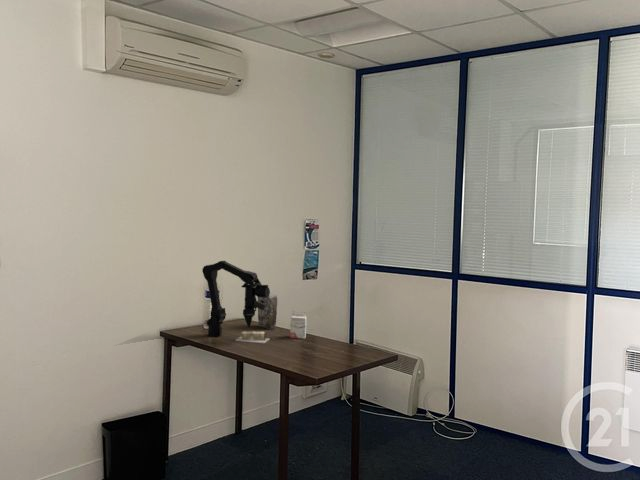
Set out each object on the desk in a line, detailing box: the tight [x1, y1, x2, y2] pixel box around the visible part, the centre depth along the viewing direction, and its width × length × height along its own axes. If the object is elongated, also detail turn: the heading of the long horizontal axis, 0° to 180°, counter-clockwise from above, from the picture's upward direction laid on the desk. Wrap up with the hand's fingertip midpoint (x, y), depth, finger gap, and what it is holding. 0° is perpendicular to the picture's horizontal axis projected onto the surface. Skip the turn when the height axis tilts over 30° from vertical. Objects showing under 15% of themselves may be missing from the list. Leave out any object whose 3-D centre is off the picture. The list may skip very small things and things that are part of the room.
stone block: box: [257, 293, 278, 330], centre depth 367 cm, size 13×7×20 cm, turn 44°
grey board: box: [235, 336, 271, 344], centre depth 334 cm, size 16×10×1 cm, turn 77°
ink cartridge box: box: [289, 309, 307, 340], centre depth 344 cm, size 9×5×15 cm, turn 84°
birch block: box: [240, 331, 267, 340], centre depth 334 cm, size 4×5×13 cm
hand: (249, 324), depth 333 cm, fingers open, 9 cm apart
